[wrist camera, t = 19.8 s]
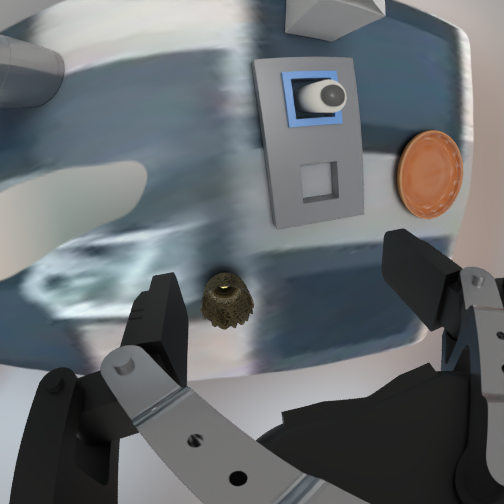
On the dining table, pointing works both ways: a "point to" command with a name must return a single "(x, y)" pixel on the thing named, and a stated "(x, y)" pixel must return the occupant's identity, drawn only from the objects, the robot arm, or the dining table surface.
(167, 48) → the dining table surface
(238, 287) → the cup
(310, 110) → the capped white bottle
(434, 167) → the saucer
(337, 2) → the milk carton
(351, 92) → the block with square holes
